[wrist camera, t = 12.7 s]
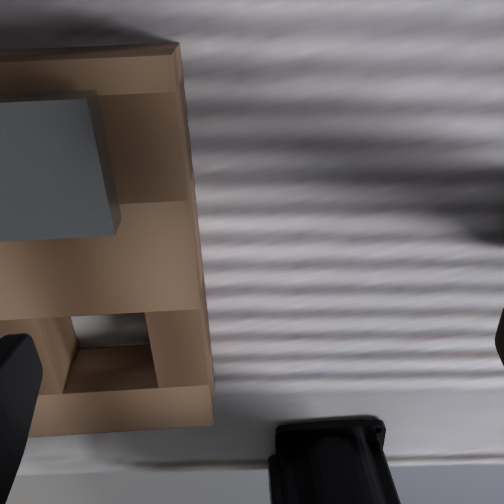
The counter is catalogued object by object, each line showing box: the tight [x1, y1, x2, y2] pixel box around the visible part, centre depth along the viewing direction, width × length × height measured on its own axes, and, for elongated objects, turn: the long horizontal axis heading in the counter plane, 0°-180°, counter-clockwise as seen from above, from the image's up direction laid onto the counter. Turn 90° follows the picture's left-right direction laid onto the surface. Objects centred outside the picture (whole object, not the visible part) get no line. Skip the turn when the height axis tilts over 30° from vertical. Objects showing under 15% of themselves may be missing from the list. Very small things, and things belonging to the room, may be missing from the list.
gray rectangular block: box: [0, 90, 122, 242], centre depth 16 cm, size 4×4×5 cm
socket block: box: [0, 43, 214, 437], centre depth 20 cm, size 9×17×3 cm, turn 2°
